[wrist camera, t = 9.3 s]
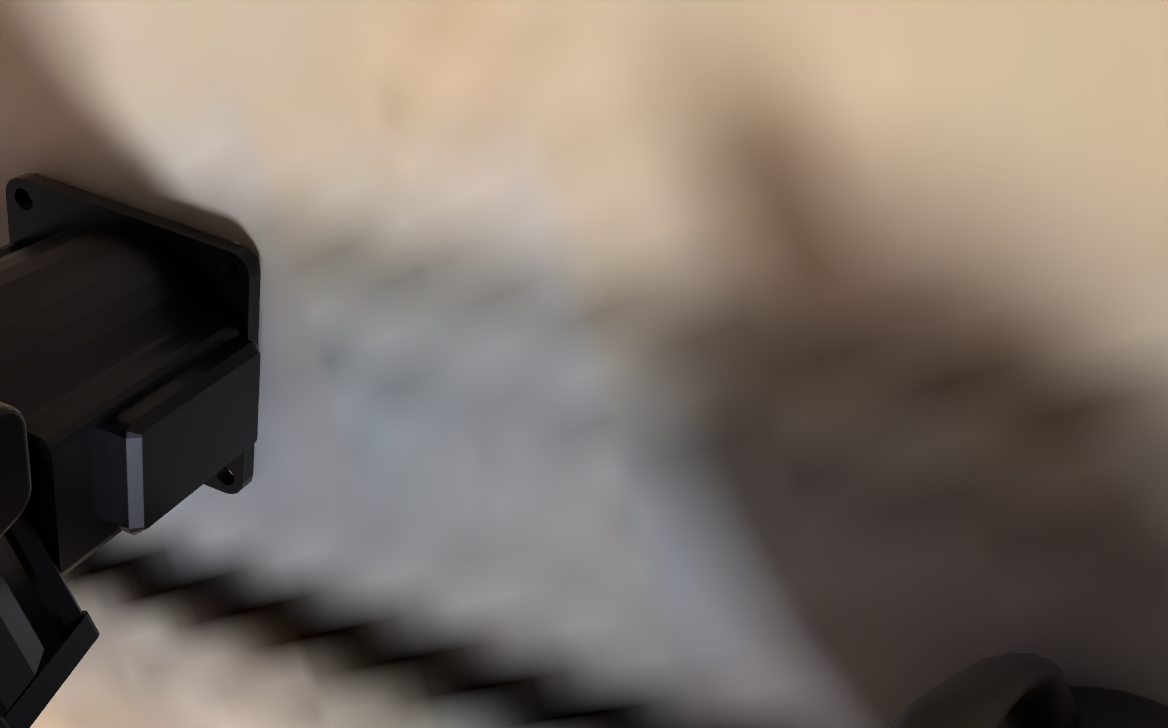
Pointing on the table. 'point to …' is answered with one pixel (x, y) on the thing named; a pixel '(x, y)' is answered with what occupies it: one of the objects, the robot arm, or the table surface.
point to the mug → (1026, 700)
